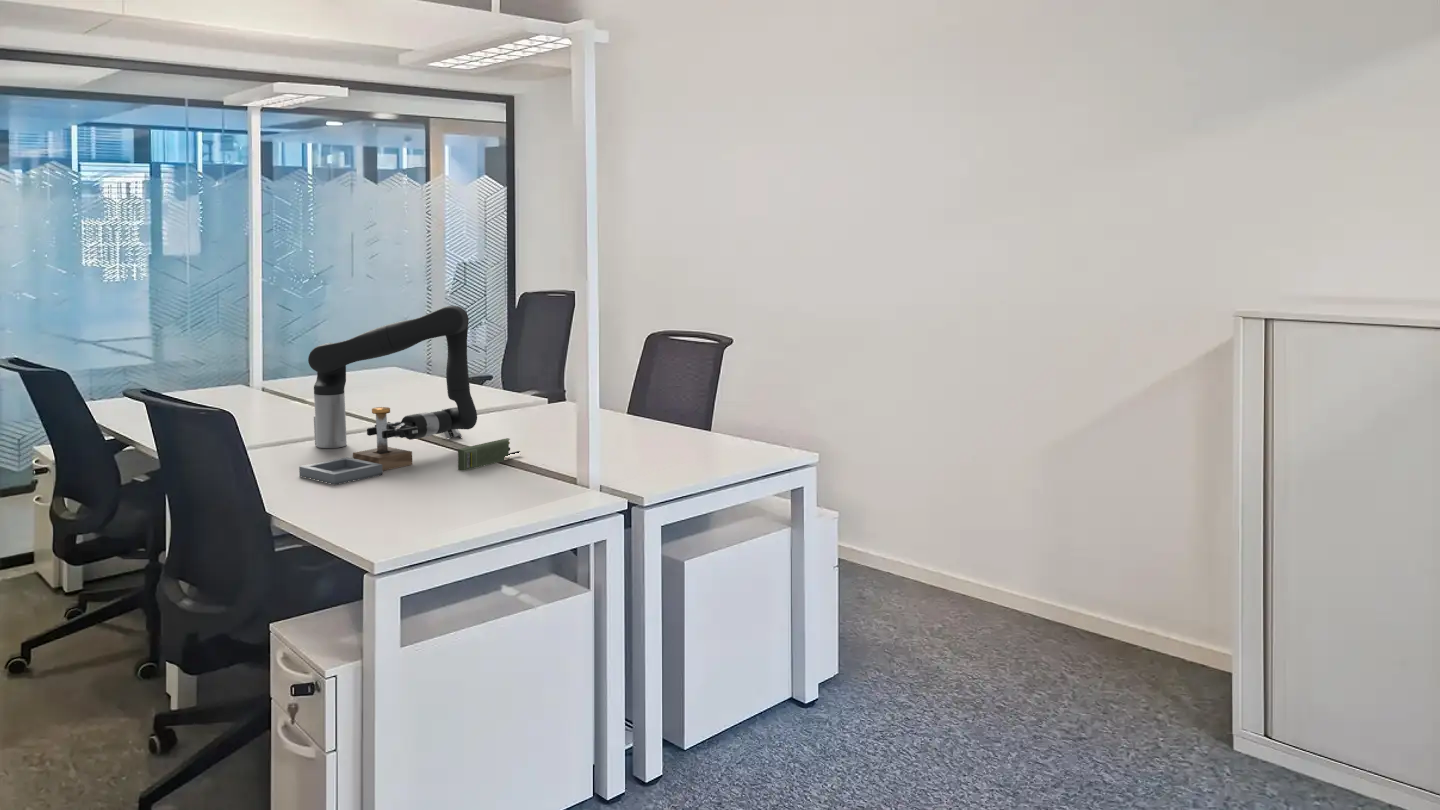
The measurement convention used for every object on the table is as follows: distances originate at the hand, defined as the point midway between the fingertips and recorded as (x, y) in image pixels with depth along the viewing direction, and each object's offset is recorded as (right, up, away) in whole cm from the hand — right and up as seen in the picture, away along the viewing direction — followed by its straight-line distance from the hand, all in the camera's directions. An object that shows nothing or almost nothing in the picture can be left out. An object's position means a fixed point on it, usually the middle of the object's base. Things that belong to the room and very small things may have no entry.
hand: (375, 433), depth 316 cm
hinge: (+8, -2, +52) cm, 53 cm away
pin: (+1, -10, +3) cm, 10 cm away
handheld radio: (+32, -10, +9) cm, 35 cm away
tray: (-6, -12, -11) cm, 17 cm away
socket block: (+1, -10, +3) cm, 10 cm away
